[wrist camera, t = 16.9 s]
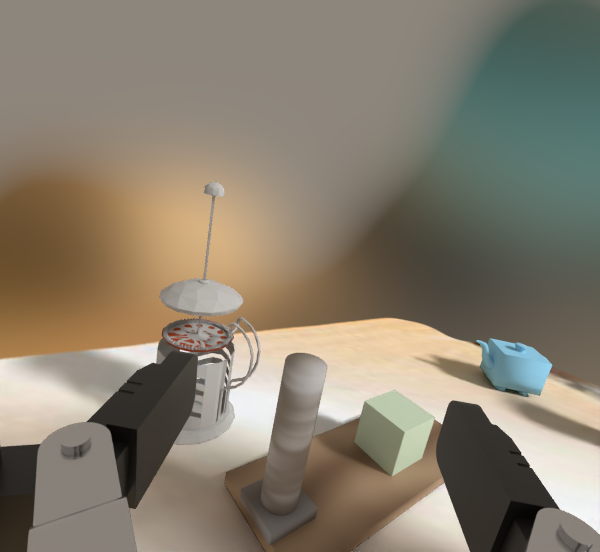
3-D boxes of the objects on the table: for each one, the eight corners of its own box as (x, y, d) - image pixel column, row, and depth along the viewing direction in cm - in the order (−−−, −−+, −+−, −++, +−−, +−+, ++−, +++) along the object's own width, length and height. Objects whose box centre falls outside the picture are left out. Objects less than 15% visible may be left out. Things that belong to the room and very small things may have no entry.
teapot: (470, 385, 57) (484, 343, 55) (458, 367, 63) (471, 328, 61) (547, 402, 56) (565, 360, 54) (528, 382, 62) (544, 343, 60)
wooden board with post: (476, 459, 40) (518, 345, 36) (288, 596, 24) (330, 414, 20) (403, 407, 48) (432, 308, 44) (222, 484, 31) (244, 336, 28)
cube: (421, 458, 37) (434, 417, 36) (391, 476, 34) (404, 432, 33) (384, 428, 41) (395, 389, 39) (354, 442, 38) (364, 400, 36)
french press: (179, 377, 45) (199, 176, 39) (263, 408, 43) (299, 195, 36) (119, 422, 36) (132, 169, 30) (220, 465, 33) (259, 194, 27)
